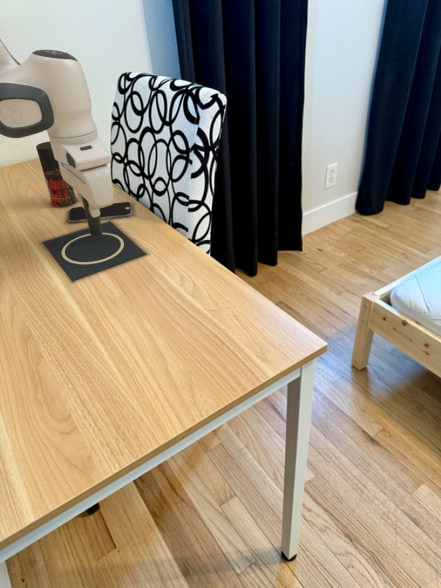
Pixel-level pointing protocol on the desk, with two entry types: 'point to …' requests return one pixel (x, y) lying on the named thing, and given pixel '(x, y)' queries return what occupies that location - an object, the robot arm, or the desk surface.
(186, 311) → the desk surface
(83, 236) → the desk pad
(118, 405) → the desk surface
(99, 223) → the marker
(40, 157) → the deodorant
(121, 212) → the smartphone
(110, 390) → the desk surface
